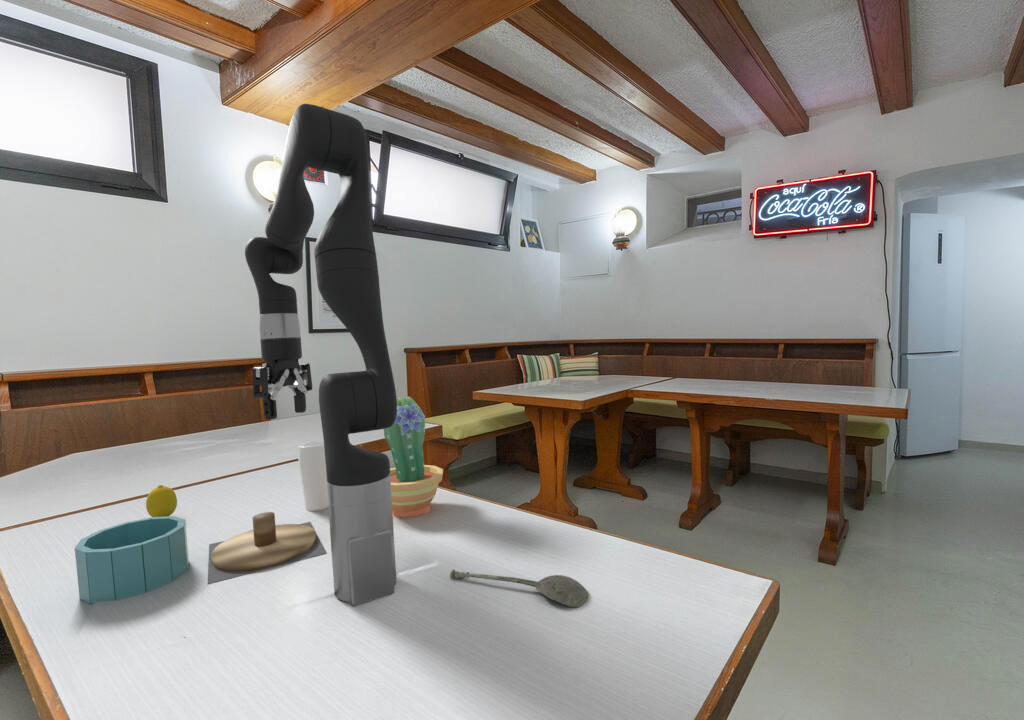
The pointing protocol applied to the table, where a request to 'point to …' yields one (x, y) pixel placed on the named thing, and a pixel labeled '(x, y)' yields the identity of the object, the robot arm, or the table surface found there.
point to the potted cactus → (410, 462)
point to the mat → (221, 575)
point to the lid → (263, 545)
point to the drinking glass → (313, 474)
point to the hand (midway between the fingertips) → (286, 415)
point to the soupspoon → (543, 587)
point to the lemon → (161, 502)
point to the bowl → (131, 558)
